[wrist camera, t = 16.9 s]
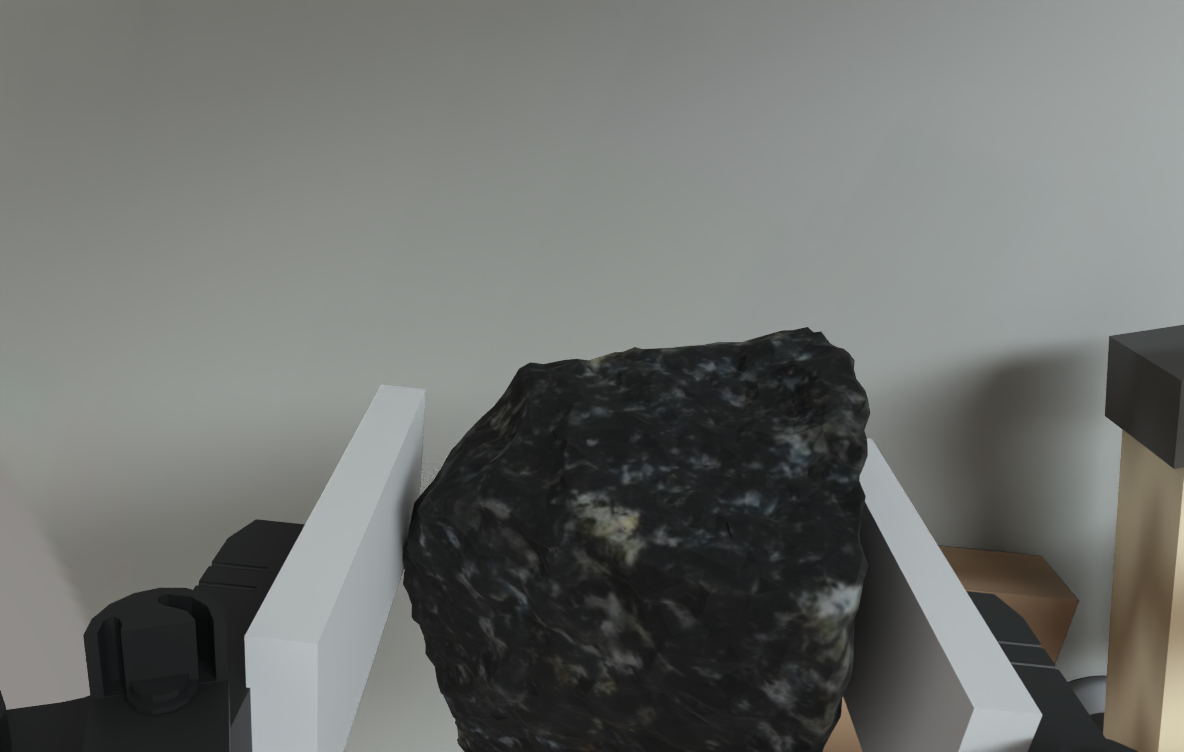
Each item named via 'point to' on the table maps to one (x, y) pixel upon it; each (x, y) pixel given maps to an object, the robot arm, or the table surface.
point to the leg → (1147, 542)
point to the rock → (650, 552)
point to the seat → (1027, 593)
